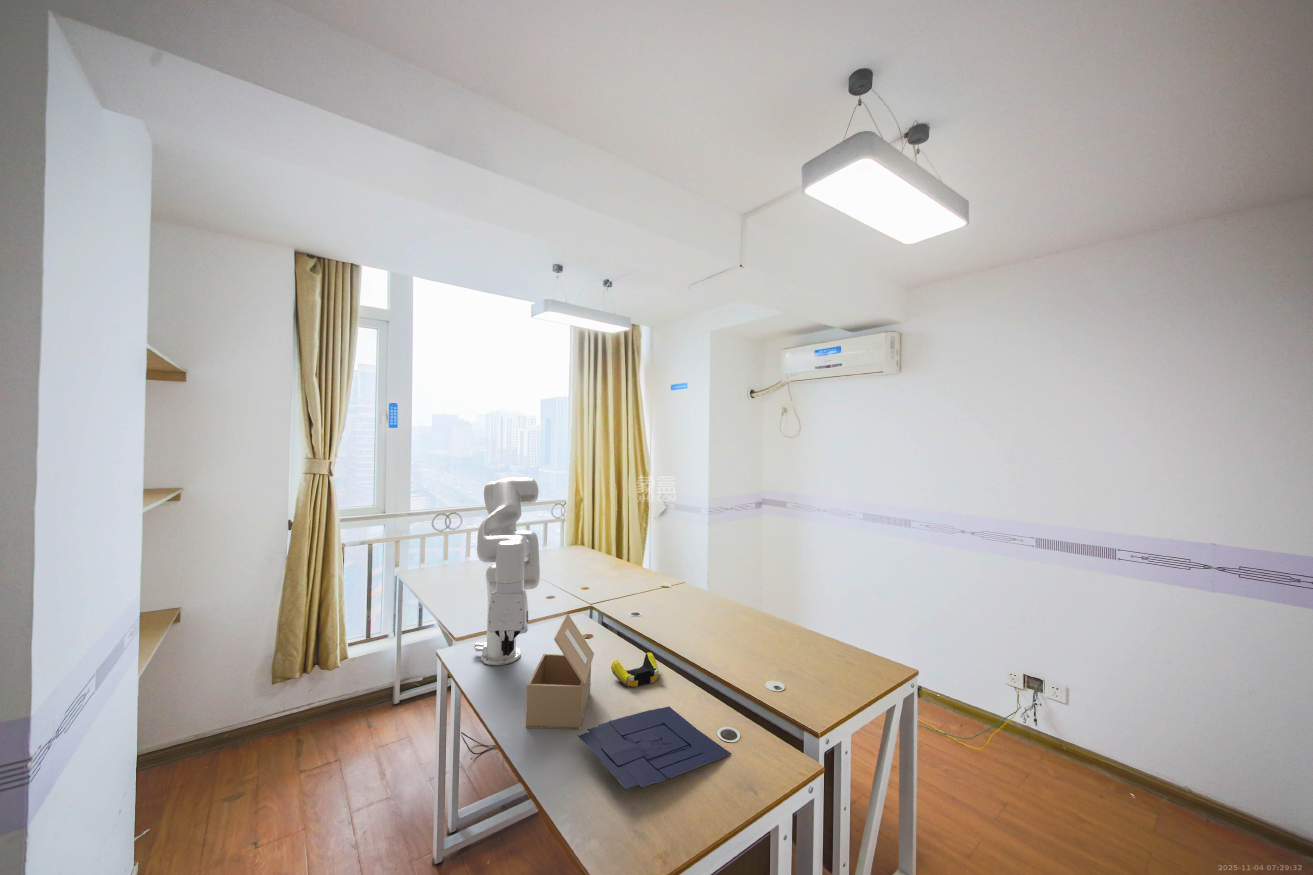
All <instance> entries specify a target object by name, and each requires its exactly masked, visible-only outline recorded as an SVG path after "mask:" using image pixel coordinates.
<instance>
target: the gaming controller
mask: <svg viewBox="0 0 1313 875" xmlns="http://www.w3.org/2000/svg"><path fill="white" fill-rule="evenodd" d="M643 659H644V660H643V664H642V665H641V666H640V667H636V668H633V669H628V670H627V669H625V668H624V666H623V665H622V663H620V661H619V659H615V660H613V661H612V663H611V666H610V668H611V672H612V674H613V675H614V677H616V679H617V680H618V681H619V682H621V683H622V684H624V686H627V687H631V688H634V687H635V688H637V687H640V686H644V685H647V684H648V685H649V684H651V683H655V681H657V679H658V678H659V667H658V663H657V661H656V658H655V656H654V654H653V653H652V652H646V653H645V655H644V658H643Z"/></svg>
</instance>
